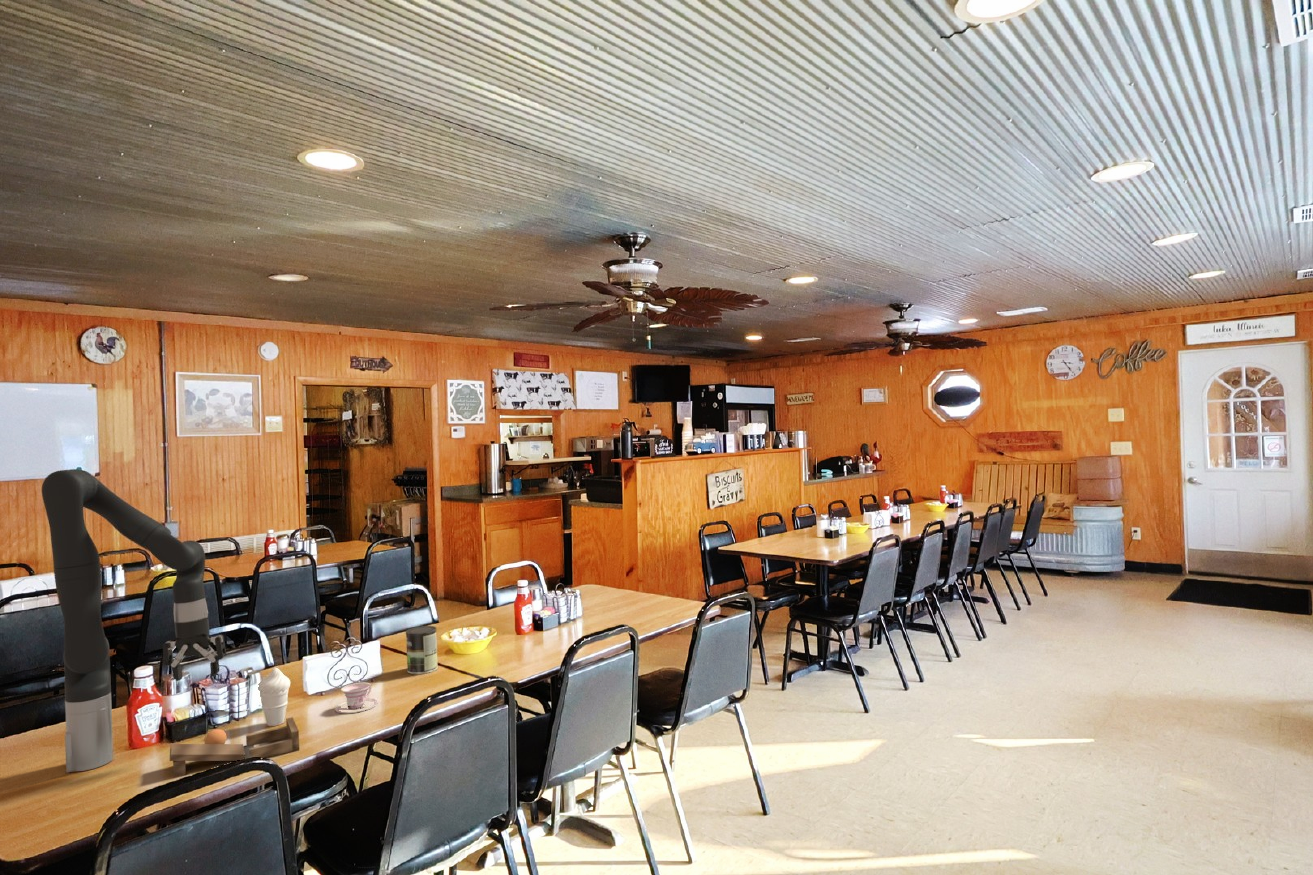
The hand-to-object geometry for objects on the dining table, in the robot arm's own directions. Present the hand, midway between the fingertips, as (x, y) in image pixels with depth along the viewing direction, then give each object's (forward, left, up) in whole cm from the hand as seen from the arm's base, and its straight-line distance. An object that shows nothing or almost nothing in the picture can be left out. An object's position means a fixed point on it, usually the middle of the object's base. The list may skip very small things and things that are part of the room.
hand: (197, 677), depth 192 cm
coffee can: (+67, +30, -19) cm, 76 cm away
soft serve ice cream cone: (+19, +7, -19) cm, 28 cm away
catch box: (+16, -12, -19) cm, 27 cm away
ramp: (+2, -12, -19) cm, 23 cm away
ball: (+4, -3, -16) cm, 17 cm away
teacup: (+40, +6, -19) cm, 45 cm away
